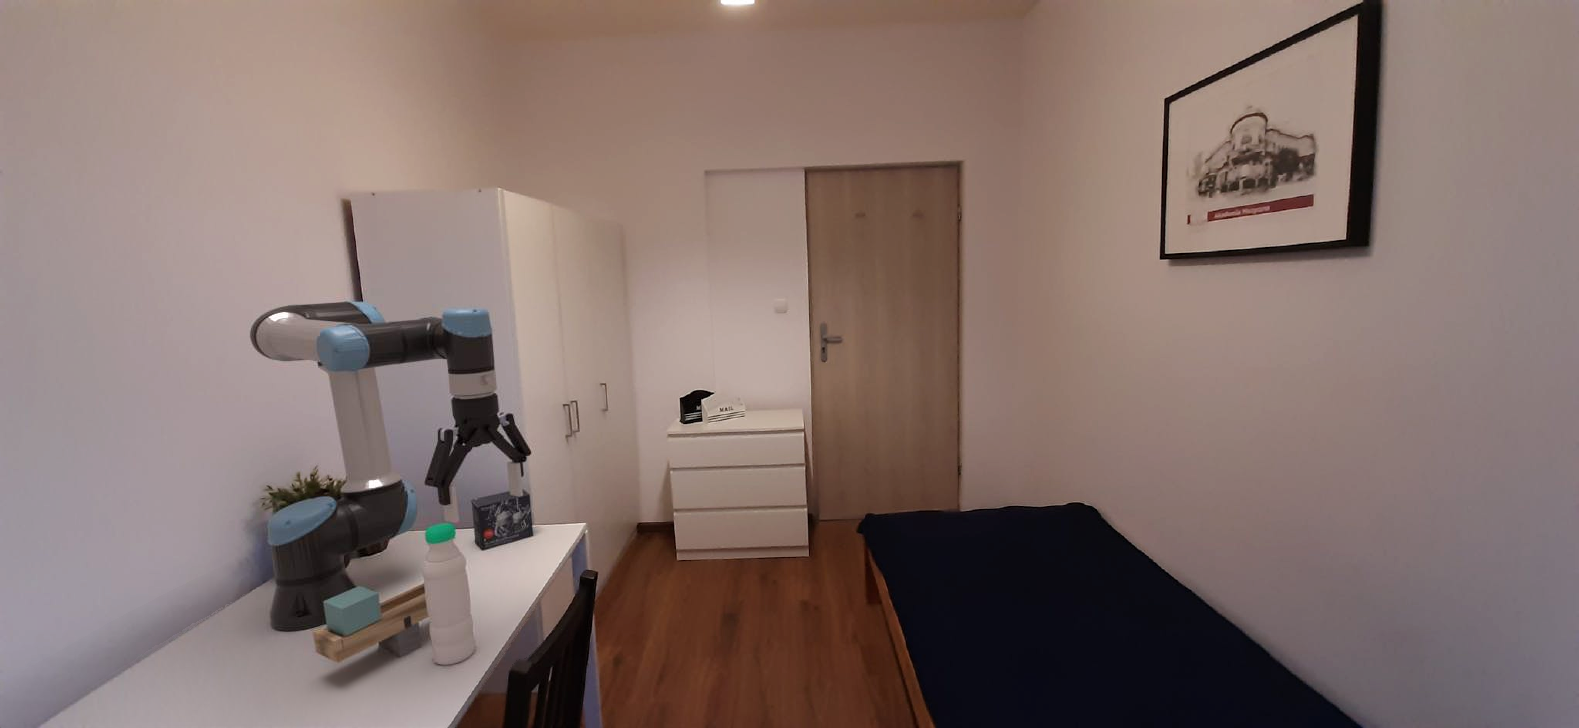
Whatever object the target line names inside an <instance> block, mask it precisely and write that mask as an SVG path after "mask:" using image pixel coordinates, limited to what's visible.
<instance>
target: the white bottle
mask: <svg viewBox="0 0 1579 728" xmlns="http://www.w3.org/2000/svg"><path fill="white" fill-rule="evenodd" d="M456 535H457V534H456V528H455V526H454V524H452V523H450V522H449V523H448V522H446V523H445V522H444V523H438V524H434V525H432V526H429V527H428V528H426V530H425V532H424V536H425V538H424V539H425V541H426V544H427V545H428V547H429V549H428V551H427V553H426V555H425V559H424V561H423V564H422V567H421V573H422V576H423V579H424V581H423V583H424V588H425V598H426V606H427V612H428V617H427V618H428V620H429V636H430V640H431V644H432V645H431V652H432V653H431V654H432V660H433V661H434V662H435V663H436V664H438V665H442V666H449V665H455V664H459V663H461V662H463V661H464V660H467V659H468V658H469V657H470V656H472V654H473V653H474V652H475V650H476V637H475V633H474V620H473V619H474V618H473V616H472V613H471V594H470V585H469V578H468V572H467V569H466V567H467V560H466V557H465V555H464V554H463V553H462V551H461V550H460V548H459V547H458V546H457V544H455V543H454V540H456Z"/></svg>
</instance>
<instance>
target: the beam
mask: <svg viewBox="0 0 1579 728" xmlns="http://www.w3.org/2000/svg"><path fill="white" fill-rule="evenodd" d="M380 608H381V616H382V619H381V620H379V621H376V622H374V623H372V624H370V625H368V626H366V627H364V628H362V629H360V630H358V631H356V632H354V633H352V634H349V635H347V636H343V637H340V636H337V635H335V633H334V631H333V630H331V629H329V628H327V627H325V628H321V627H319V628H317V629H315V630H312V636H313V641H314V647H315V648H314V649H315V653H316V654H318V655H320V656H321V657H325V658H327V659H328V660H331V661H333V662H334V663H337V664H339V663H341V662H342V661H345V660H347V659H348V658H351V657H353V656H354V655H356V654H359V653H361V652H362V651H364V650H366V649H368V648H371V647H373V646H375V645H376V644H378V649H380V650H382V651H383V652H387V653H388V654H391V655H393V656H396V657H398V658H400V659H401V658H403V657H405V656H408V655H409V654H410V653H412V652H414V651H416V650H418V649H420V648H422V647H423V645H422V637H421V636H422V635H421V629H420V628H421V627H420V622H422V621H424V620H425V619H427V618H429V617H428V612H427V606H426V598H425V588H424V582H423V583H421V584H419V585H417V586H415V587H412V588H411V589H408V590H406V591H404V592H402V593H399V594H398V595H395V596H393V597H391V598H389V599H387V600H384V601H382V602H380Z"/></svg>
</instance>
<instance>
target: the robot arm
mask: <svg viewBox="0 0 1579 728" xmlns="http://www.w3.org/2000/svg"><path fill="white" fill-rule="evenodd" d="M249 339H250V342H251V345H252V346H253V348H254V349H255V350H256V352H257V353H259V354H260V355H261V356H263V357H265V358H267V359H269V360H270V359H271V360H272V361H279V362H293V361H295V362H297V361H312V362H316V363H317V367H318V368H319V369H320V370H322V371H324V372H325V373H327V375H328V380H329V386H330V391H331V397H332V402H333V408H334V409H333V410H334V415H335V419H336V425H337V430H338V436H339V443H340V447H341V452H342V459H343V463H344V464H343V465H344V470H345V476H346V482H345V483H344V485H342V486H341V488H340V496H341V498H340V499H337V500H335V498H333V497H331V496H318V497H315V498H307V499H304V500H301V501H297V502H294V503H292V504H290V505H287V506H285V507H283V508H281V509H280V510H278V511H276V512H275V514H273V515H272V516H271V517H270V518H269V520H268V522H267V525H266V526H267V544H268V545H269V550H270V556H271V562H272V568H273V575H274V579H275V580H274V581H275V591H274V595H273V598H272V603H271V608H270V612H269V618H270V619H269V620H270V625H271V627H272V628H273V629H274V630H278V631H282V632H284V631H285V632H287V631H290V632H291V631H298V630H299V631H300V630H305V629H310V628H314V627H318V626H321V625H323V624H327V623H326V616H325V610H324V603H323V601H325V600H328V599H330V598H332V597H335V596H337V595H340V594H342V593H344V592H347V591H349V590H351V589H354V588H356V587H357V585H356V583H355V582H354V580H353V579H352V577H351V576H350V574H349V572H348V571H347V569H346V566H345V561H344V555H347V554H350V553H352V552H354V551H355V552H356V551H357V550H361V549H363V548H367V547H370V546H372V545H375V544H378V543H380V542H384V541H386V540H387V541H388V540H392V539H394V538H395V537H397V536H400V535H403V534H405V533H407V532H409V531H410V530H412V528H413V526H414V524H415V523H416V520H417V517H418V499H417V495H416V493H415V491H414V488H413V486H412V485H411V484H410V483H408V482H406V481H403V480H402V479H403V478H402V476H401V475H399V474H398V473H396V472H394V471H393V466H392V462H391V461H392V460H391V456H390V449H389V443H388V438H387V432H386V427H385V420H384V413H383V408H382V403H381V397H380V391H379V390H380V389H379V384H378V379H377V372H376V368H377V367H378V368H379V367H385V366H392V365H402V364H409V363H415V362H416V363H417V362H423V361H431V360H446V365H447V375H448V385H449V387H448V388H449V394H450V395H451V396H453V397H452V398H451V400H450V403H451V413H452V417H453V419H454V421H455V423H454V427H451V428H445V427H440V428H439V429H438V430H437V441H436V442H437V443H436V446H435V449H434V452H433V455H432V458H431V462H430V464H429V468H428V470H427V473H426V475H425V476H426V477H425V479H424V485H425V486H428V487H433V488H436V490H437V498H438V503H439V504H440V505H442V506H443V514H444V521H446V522H449V523H454V524H455V523H459V522H460V518H459V516H460V515H459V510H458V509H459V508H458V500H457V490H456V485H454V484H452V482H453V481H454V479H455V477H456V476H457V473H458V471H459V469H460V468H461V467H462V465H463V463H464V461H465V458H466V457H467V455H468V453H470V452H471V451H472V450H473V449H474V448H479V447H481V446H483V445H488V444H491V443H492V444H493V445H494V446H495V447H496V448H497V449H498V450H500V451H501V452H502V453H503V454H504V455H505V456H506V457H507V458H508V459H509V460H510V461H507V462H506V465H507V476H508V486H509V491H510V495H514V496H519V497H520V496H523V490H524V488H523V480H522V478H523V477H524V473H525V472H524V463H526V462H527V460H528V457H529V456H531V454H532V450H531V449H530V447H529V445H528V444H527V442H526V440H525V438H524V437H523V435H522V433H521V431H520V430H519V428H518V427H517V425H516V423H515V417H514V414H513V413H510V412H504V411H503V412H500V406H499V397H498V394H497V393H496V390H497V389H498V387H497V386H498V385H497V375H496V368H495V367H496V366H495V355H494V352H495V351H494V342H493V341H494V339H493V327H492V326H491V319H490V312H489V311H488V309H486V308H484V307H457V308H455V307H454V308H448V309H447V308H446V309H444V310H443V312H442V316H441V317H437V316H430V317H428V316H427V317H420V318H419V317H418V318H416V319H409V320H398V321H396V320H395V321H388V322H386V321H385V318H384V316H383V314H382V313H381V312H380V311H379V309H378V308H377V307H375V305H373V304H372V303H369V302H367V301H365V302H364V301H341V302H340V301H339V302H323V303H309V304H307V303H306V304H288V305H284V306H283V305H282V306H279V307H276V308H273V309H271V310H268V311H266V312H265V313H263V314H261V315H260V316H259V317H258V318H257V319H256V320H255V321H253V324H252V325H251V328H250V331H249ZM499 412H500V413H499ZM498 414H499V415H498ZM500 426H501V428H502V430H503V432H504V433H505V434H506V437H507V438H508V440H509V441H510V442H509V441H508V440H507V439H506V438H505V436H504V435H503V434H502V433H501V432H500V431H499V430H498V429H499V427H500ZM454 440H455V442H454ZM463 444H464V445H463ZM452 448H453V449H452Z"/></svg>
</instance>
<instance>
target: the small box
mask: <svg viewBox="0 0 1579 728" xmlns="http://www.w3.org/2000/svg"><path fill="white" fill-rule="evenodd" d="M470 501H471V508H472V509H471V510H472V520H473V531H474V532H473V533H474V534H473V535H474V543H475V544H476V545H477V546H478V547H479V549H480V550H481V551H485V550H488V549H491V548H495V547H499V546H502V545H506V544H510V543H513V542H517V541H520V540H523V539H528V538H532V537H534V531H533V521H532V520H533V518H532V507H531V505H532V504H531V496H530V493H528V492H527V491H526V490H525V489H523V496H520V497H519V496H514V495H510V490H508V491H504V492H499V493H495V494H491V495H486V496H482V497H477V498H472V499H471V500H470Z"/></svg>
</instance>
